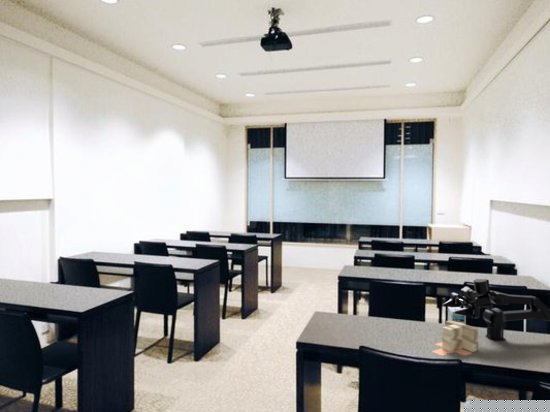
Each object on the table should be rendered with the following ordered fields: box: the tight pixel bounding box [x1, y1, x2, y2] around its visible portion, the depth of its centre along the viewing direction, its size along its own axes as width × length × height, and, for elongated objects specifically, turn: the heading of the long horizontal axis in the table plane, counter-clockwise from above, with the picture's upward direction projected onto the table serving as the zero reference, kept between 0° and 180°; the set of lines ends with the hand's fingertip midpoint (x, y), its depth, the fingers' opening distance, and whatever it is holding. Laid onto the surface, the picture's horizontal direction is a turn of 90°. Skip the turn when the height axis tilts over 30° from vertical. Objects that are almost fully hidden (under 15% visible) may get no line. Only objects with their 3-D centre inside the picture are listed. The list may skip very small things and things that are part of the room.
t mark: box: [430, 341, 473, 357], centre depth 175 cm, size 14×16×1 cm
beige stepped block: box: [441, 320, 479, 353], centre depth 178 cm, size 13×14×10 cm
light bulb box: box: [447, 306, 467, 325], centre depth 203 cm, size 11×7×11 cm, turn 168°
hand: (448, 308), depth 188 cm, fingers open, 9 cm apart
